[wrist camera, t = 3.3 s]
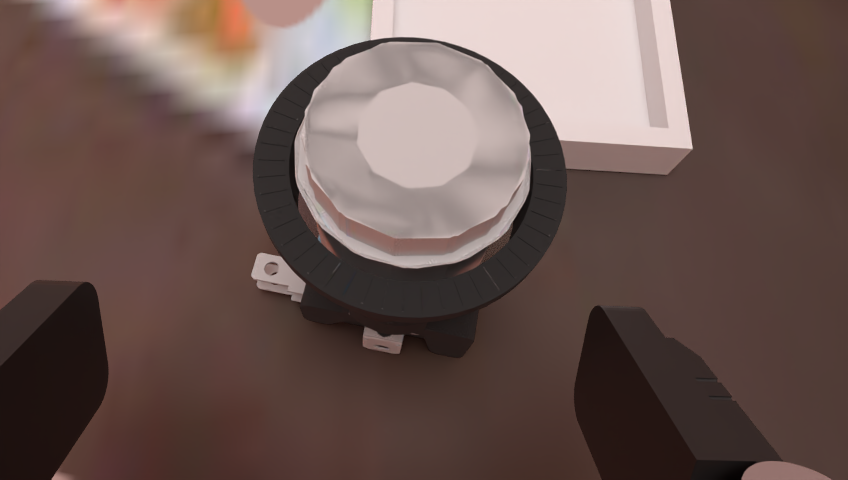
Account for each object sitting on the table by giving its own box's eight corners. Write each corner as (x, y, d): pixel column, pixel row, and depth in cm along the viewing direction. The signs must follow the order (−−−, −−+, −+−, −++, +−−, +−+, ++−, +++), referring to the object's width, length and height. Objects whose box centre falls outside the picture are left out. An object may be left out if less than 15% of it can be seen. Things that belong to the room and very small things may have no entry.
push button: (237, 365, 18) (98, 239, 9) (286, 200, 20) (216, -47, 11) (464, 410, 18) (569, 333, 9) (489, 242, 20) (598, 33, 11)
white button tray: (631, -91, 26) (649, -130, 24) (667, 175, 21) (692, 148, 20) (382, -114, 25) (383, -156, 23) (364, 156, 21) (364, 127, 19)
